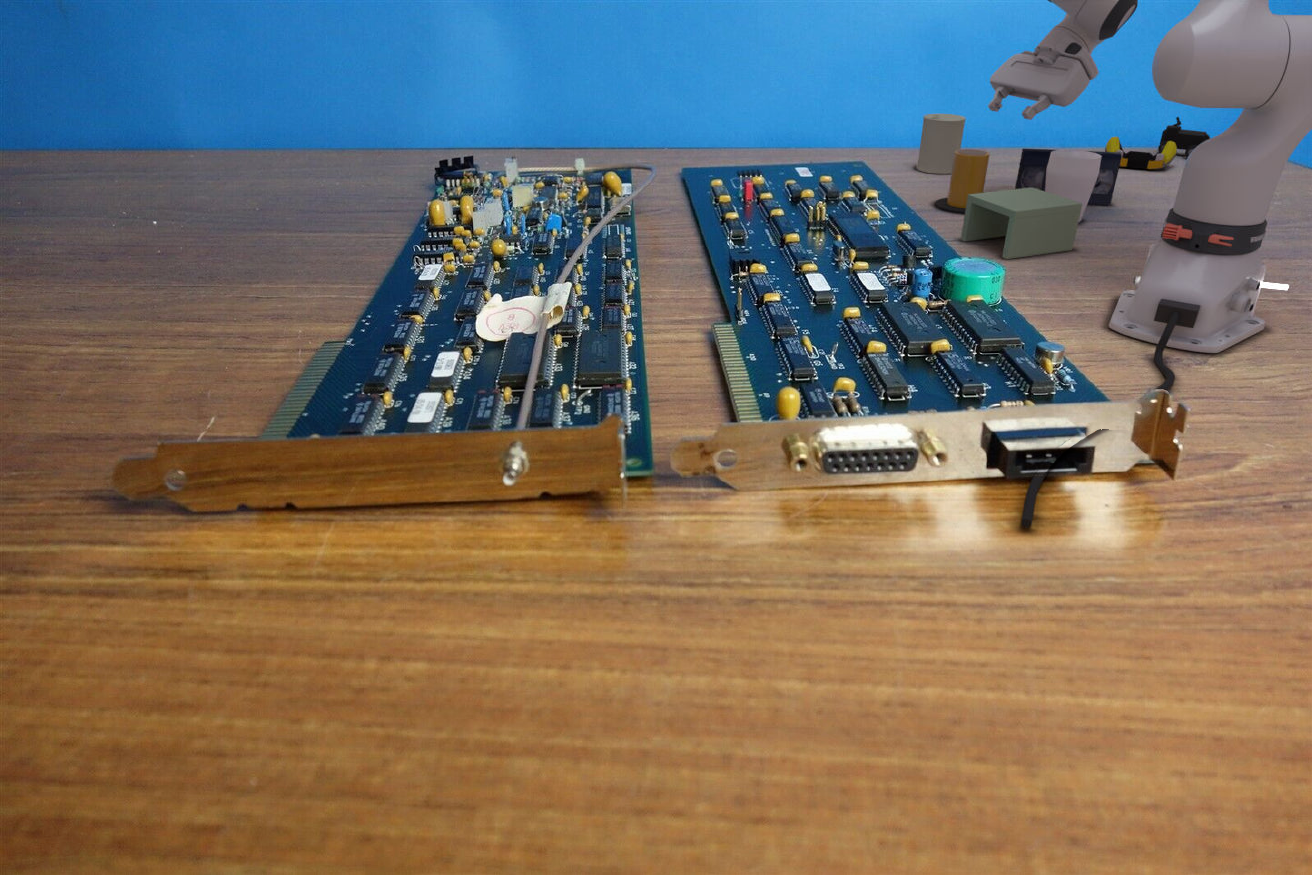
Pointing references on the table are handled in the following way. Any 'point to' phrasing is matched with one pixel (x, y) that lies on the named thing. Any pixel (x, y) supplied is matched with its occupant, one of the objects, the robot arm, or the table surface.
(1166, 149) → the gaming controller
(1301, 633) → the table surface
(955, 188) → the tumbler
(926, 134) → the can
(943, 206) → the mat
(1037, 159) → the vhs cassette tape
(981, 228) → the shelf
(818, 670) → the table surface
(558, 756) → the table surface
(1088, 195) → the cup
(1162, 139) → the toy vehicle
